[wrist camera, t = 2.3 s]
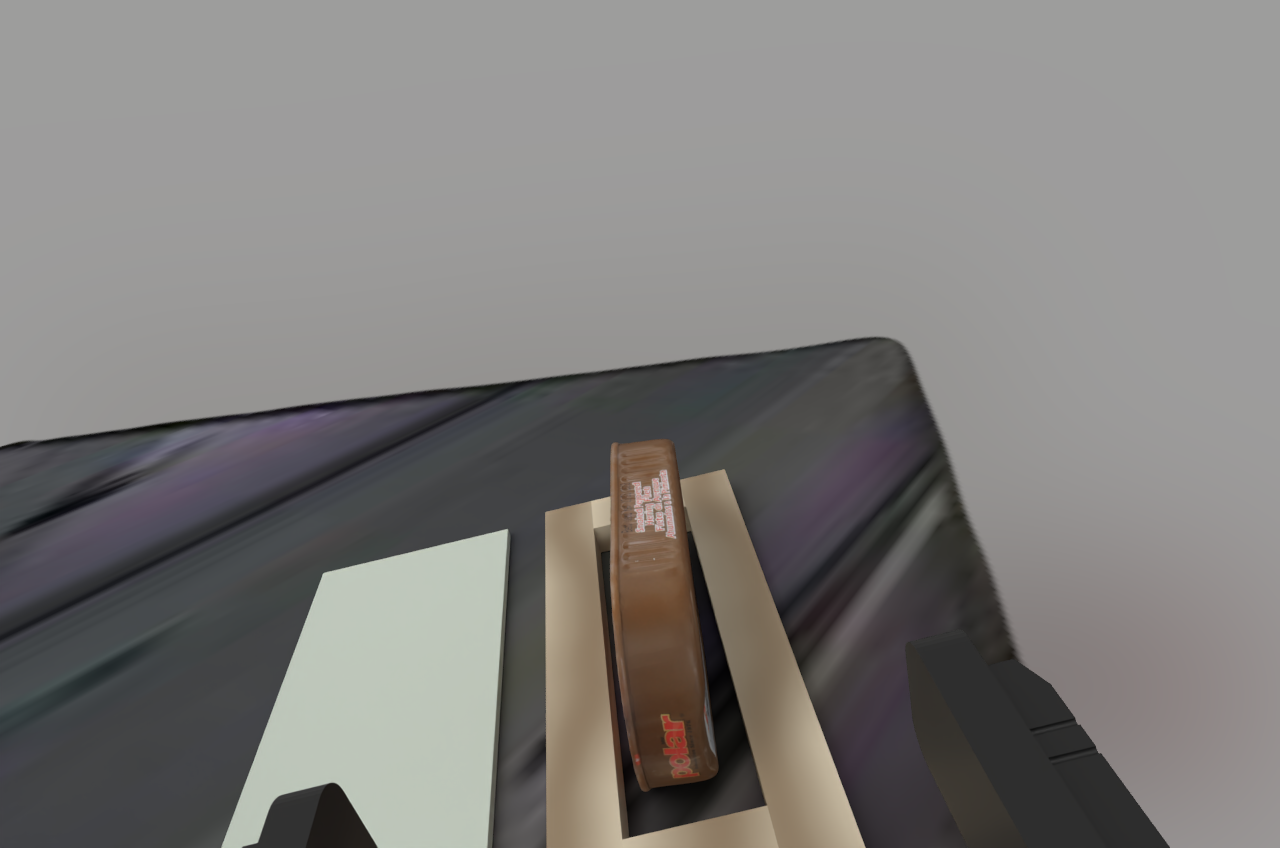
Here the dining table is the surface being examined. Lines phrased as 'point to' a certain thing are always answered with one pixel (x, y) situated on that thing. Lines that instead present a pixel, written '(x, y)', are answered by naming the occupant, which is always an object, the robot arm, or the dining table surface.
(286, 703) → the mat
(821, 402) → the dining table surface
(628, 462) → the tin
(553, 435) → the dining table surface
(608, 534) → the slot holder
